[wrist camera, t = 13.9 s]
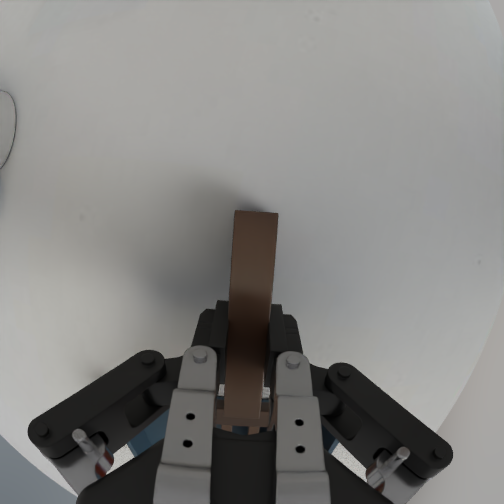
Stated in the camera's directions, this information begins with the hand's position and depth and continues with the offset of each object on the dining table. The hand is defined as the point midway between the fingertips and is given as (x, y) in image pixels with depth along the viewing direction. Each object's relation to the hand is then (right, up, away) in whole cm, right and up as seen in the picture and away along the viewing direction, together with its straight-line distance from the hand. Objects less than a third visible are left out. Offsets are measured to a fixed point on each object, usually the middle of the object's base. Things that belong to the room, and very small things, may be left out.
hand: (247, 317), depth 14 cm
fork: (0, -3, +1) cm, 3 cm away
